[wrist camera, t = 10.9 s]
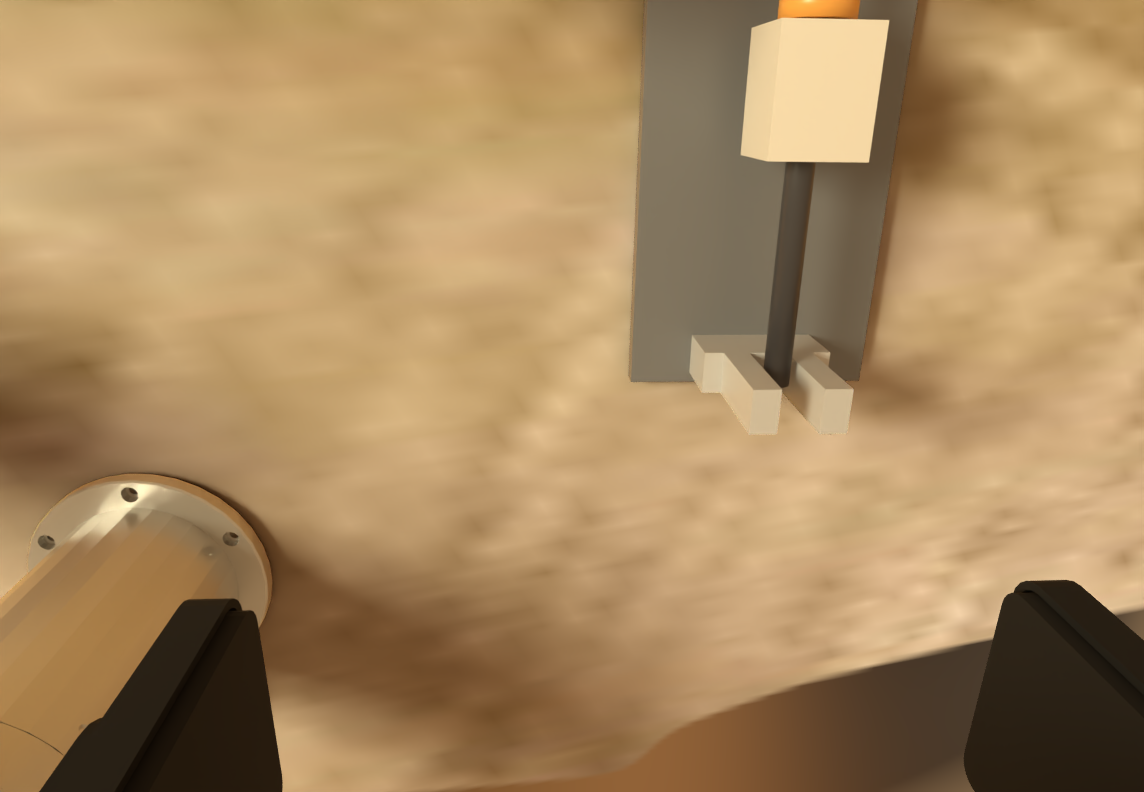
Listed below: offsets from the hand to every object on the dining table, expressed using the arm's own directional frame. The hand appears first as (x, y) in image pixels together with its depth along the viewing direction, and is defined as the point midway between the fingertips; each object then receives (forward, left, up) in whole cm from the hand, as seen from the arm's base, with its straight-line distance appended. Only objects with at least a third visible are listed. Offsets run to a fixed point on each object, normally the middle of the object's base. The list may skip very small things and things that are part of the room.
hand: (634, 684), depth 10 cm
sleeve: (+7, -10, -27) cm, 30 cm away
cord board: (+6, -10, -30) cm, 32 cm away
